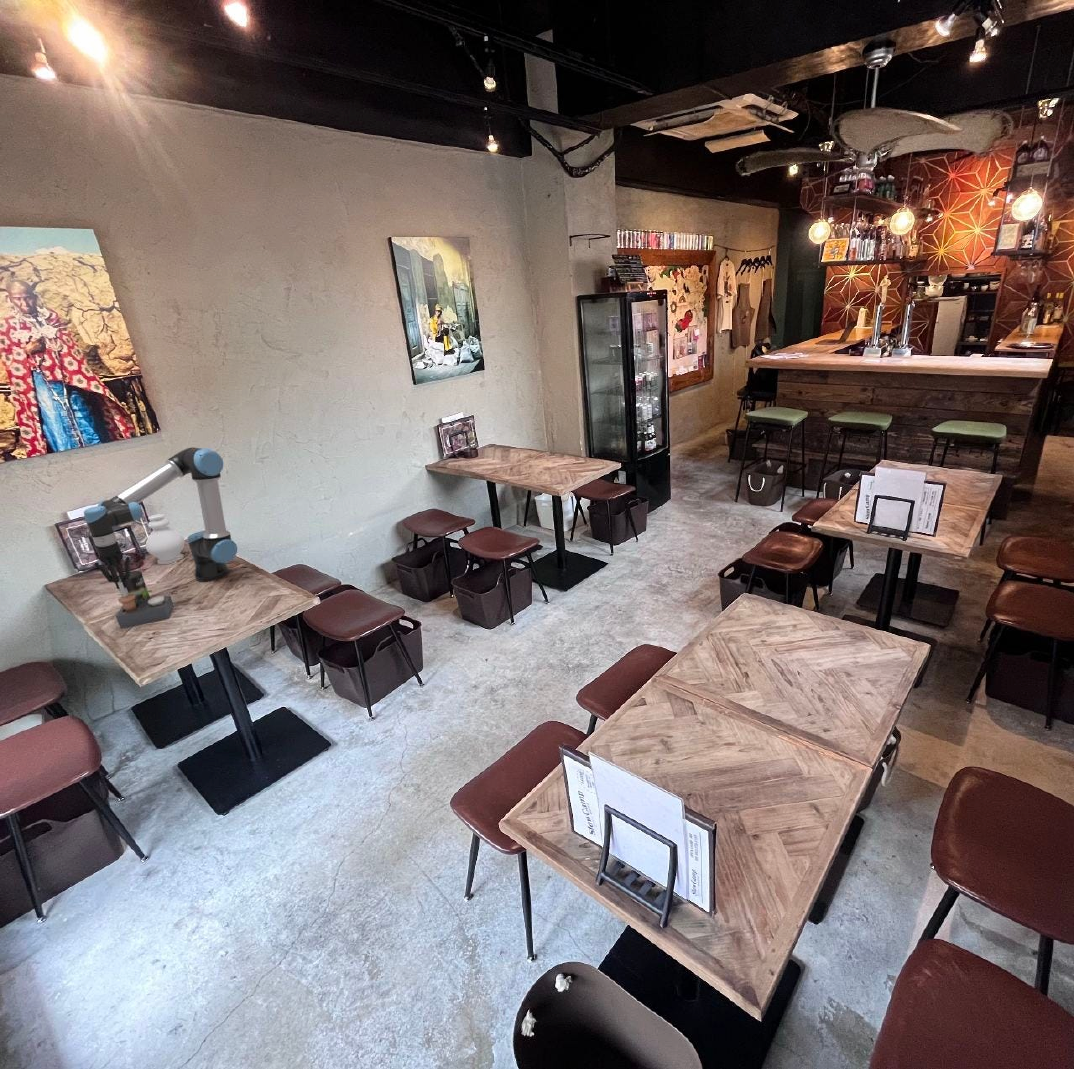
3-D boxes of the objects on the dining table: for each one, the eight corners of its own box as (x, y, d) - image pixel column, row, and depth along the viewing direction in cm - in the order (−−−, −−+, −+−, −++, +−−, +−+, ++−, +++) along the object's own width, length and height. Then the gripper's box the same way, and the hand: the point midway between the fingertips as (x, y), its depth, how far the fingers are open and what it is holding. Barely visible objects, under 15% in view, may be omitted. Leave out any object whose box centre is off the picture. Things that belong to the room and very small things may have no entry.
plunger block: (174, 606, 260) (170, 594, 257) (168, 618, 249) (164, 606, 247) (128, 616, 254) (123, 604, 252) (120, 628, 244) (115, 616, 241)
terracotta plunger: (141, 606, 252) (136, 592, 249) (137, 612, 247) (132, 598, 244) (125, 609, 250) (120, 595, 248) (121, 615, 245) (116, 601, 242)
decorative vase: (193, 557, 314) (180, 514, 305) (157, 569, 302) (141, 524, 293) (183, 550, 326) (169, 508, 316) (147, 560, 314) (132, 517, 305)
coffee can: (155, 596, 271) (145, 569, 266) (145, 606, 262) (134, 578, 256) (131, 599, 270) (121, 572, 265) (120, 609, 260) (109, 581, 255)
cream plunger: (169, 608, 256) (165, 594, 254) (166, 614, 251) (162, 600, 249) (154, 611, 254) (149, 597, 252) (151, 617, 249) (146, 603, 247)
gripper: (85, 550, 231) (105, 601, 240) (122, 543, 235) (140, 595, 244) (91, 543, 238) (110, 594, 247) (127, 537, 242) (145, 587, 251)
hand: (125, 594), depth 245 cm, fingers closed
